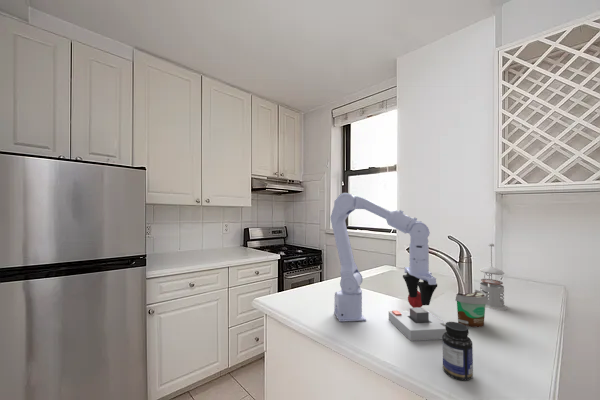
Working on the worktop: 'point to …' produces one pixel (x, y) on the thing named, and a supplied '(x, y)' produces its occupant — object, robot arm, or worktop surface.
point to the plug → (419, 315)
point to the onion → (415, 300)
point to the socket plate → (418, 326)
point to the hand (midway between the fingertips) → (419, 300)
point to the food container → (471, 308)
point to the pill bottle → (457, 351)
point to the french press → (493, 287)
